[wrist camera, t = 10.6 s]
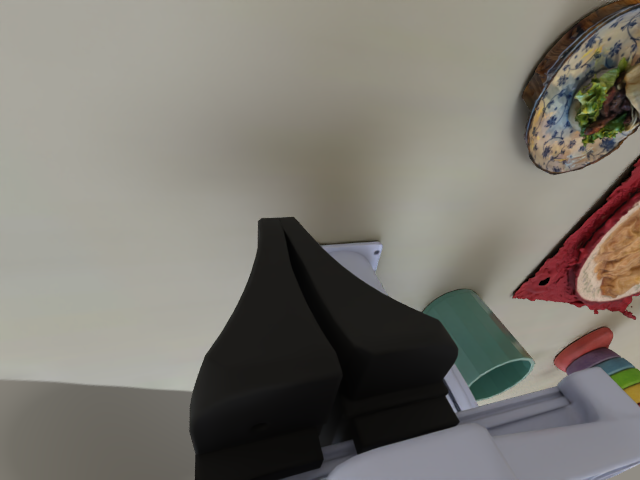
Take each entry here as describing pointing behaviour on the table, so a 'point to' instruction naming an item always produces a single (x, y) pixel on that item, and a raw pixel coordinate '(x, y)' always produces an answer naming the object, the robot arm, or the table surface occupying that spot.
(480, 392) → the green cup
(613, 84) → the burger
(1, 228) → the table surface
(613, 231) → the plate with food
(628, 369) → the stacking bear
